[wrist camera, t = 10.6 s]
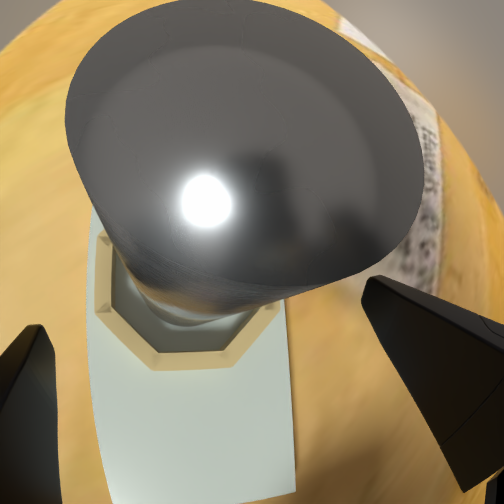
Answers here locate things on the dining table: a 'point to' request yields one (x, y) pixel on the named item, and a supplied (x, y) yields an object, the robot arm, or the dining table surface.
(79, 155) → the grey metal peg
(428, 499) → the dining table surface
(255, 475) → the collar board
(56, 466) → the robot arm
